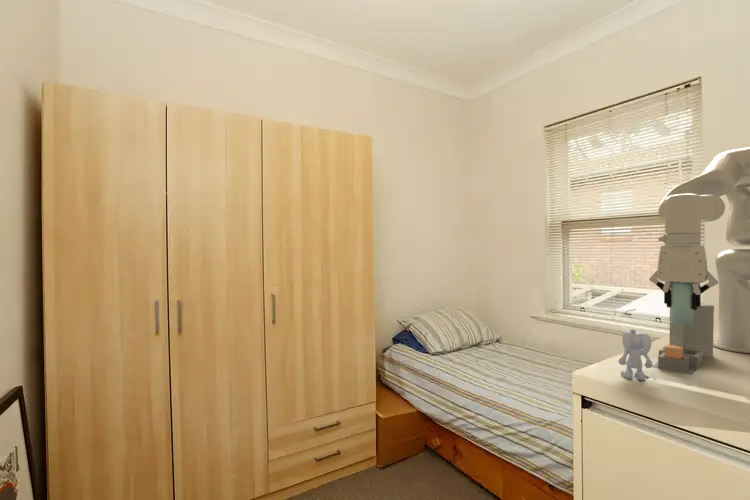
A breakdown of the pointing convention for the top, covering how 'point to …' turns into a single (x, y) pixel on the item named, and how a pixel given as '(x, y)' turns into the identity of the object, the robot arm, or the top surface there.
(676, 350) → the plunger
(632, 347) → the toy figurine
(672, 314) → the cartridge
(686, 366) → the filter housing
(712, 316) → the skincare box
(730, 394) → the top surface
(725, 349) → the robot arm
